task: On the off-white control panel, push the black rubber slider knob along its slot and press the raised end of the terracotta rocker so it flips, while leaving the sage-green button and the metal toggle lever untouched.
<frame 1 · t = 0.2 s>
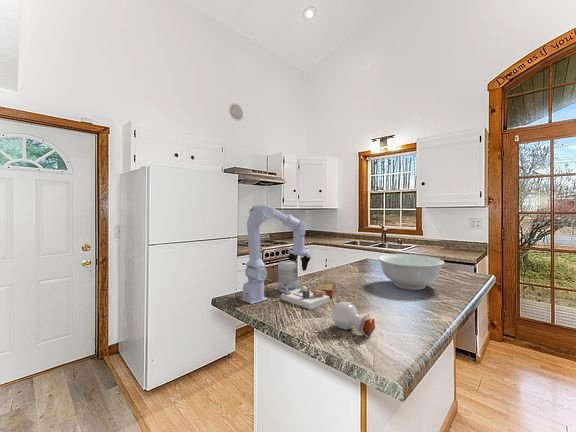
hand: (299, 269, 151), 10 cm above the countertop, fingers open, 7 cm apart
console: (305, 300, 131), on the countertop
carton: (325, 293, 143), on the countertop
supplement tub: (287, 291, 147), on the countertop
bowl: (409, 286, 153), on the countertop
rocker: (318, 292, 130), point 4 cm above the countertop, hinge at 15.0°
toggle: (286, 286, 134), point 6 cm above the countertop, hinge at -20.0°
button: (303, 288, 136), point 4 cm above the countertop, slide at 0.0 cm
slider: (306, 293, 127), point 4 cm above the countertop, slide at 0.0 cm
potion bottle: (352, 331, 99), on the countertop
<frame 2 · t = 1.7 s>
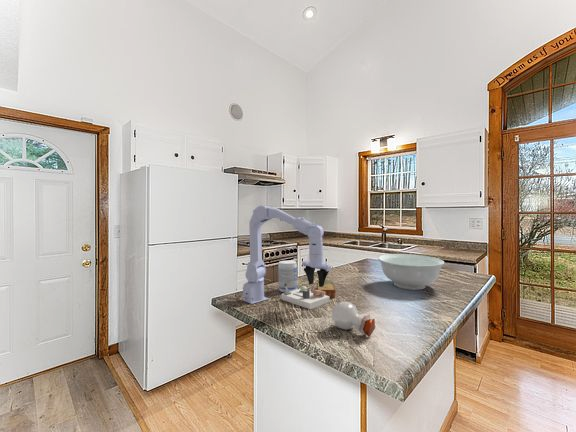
hand: (316, 285, 122), 9 cm above the countertop, fingers open, 5 cm apart
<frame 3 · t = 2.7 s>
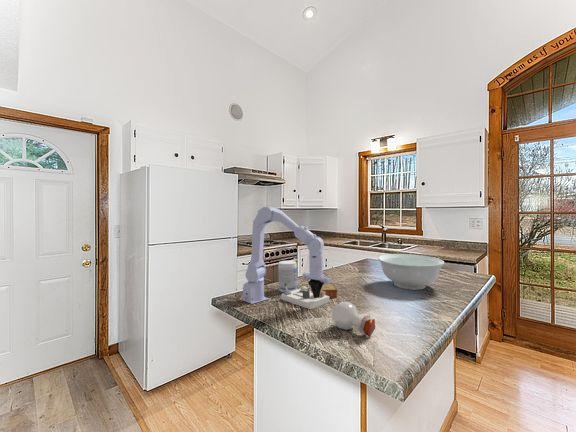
hand: (316, 297, 122), 4 cm above the countertop, fingers closed
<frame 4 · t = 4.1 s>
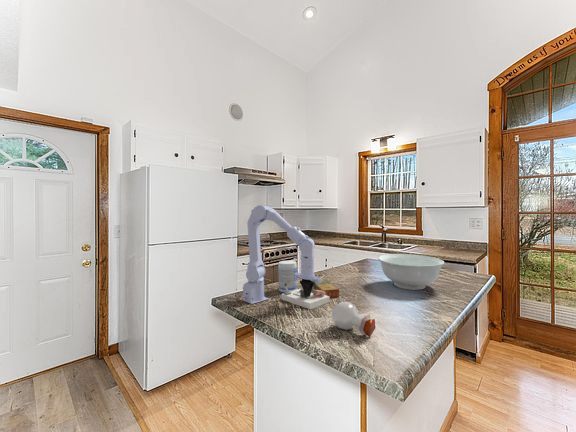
hand: (307, 296, 126), 3 cm above the countertop, fingers closed
slider: (303, 293, 128), point 4 cm above the countertop, slide at 1.4 cm, touching gripper
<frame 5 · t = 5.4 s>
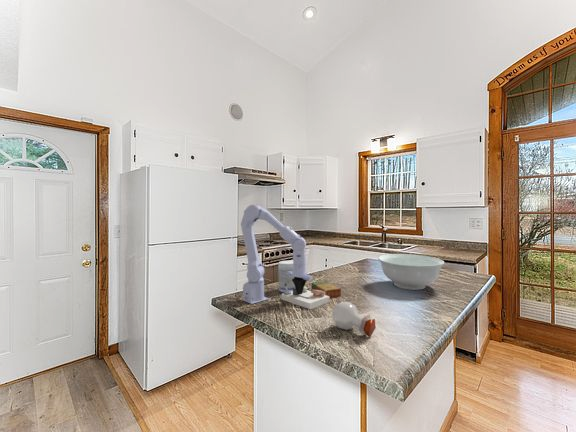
hand: (299, 294, 130), 3 cm above the countertop, fingers closed
slider: (296, 290, 132), point 4 cm above the countertop, slide at 6.3 cm, touching gripper
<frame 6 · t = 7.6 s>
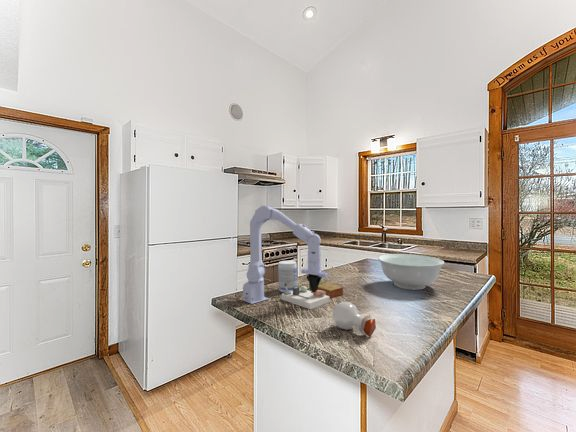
hand: (314, 291, 128), 5 cm above the countertop, fingers closed, pressing on rocker
rocker: (318, 292, 130), point 4 cm above the countertop, hinge at 13.1°, touching gripper
slider: (296, 290, 132), point 4 cm above the countertop, slide at 6.3 cm
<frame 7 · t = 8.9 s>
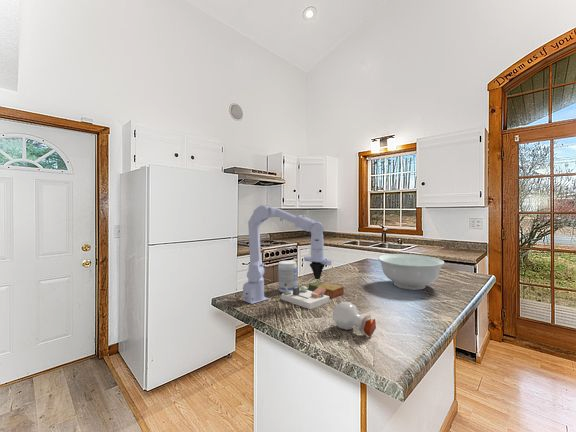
hand: (317, 278, 129), 10 cm above the countertop, fingers closed
rocker: (318, 292, 130), point 4 cm above the countertop, hinge at -19.9°
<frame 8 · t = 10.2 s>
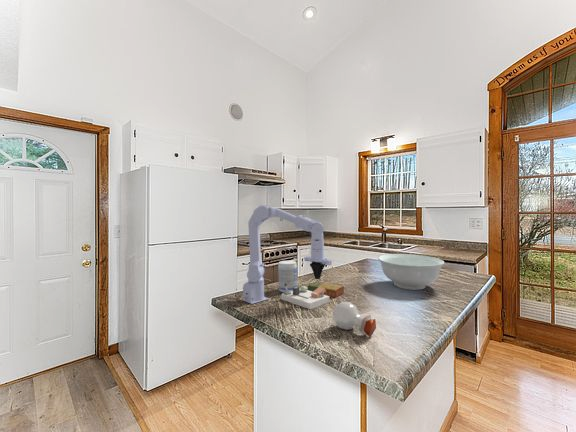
hand: (317, 278, 129), 10 cm above the countertop, fingers closed
rocker: (318, 292, 130), point 4 cm above the countertop, hinge at -15.8°
at the end: slider slide at 6.3 cm; rocker at -16° (first picture: +15°); button slide at 0.0 cm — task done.
